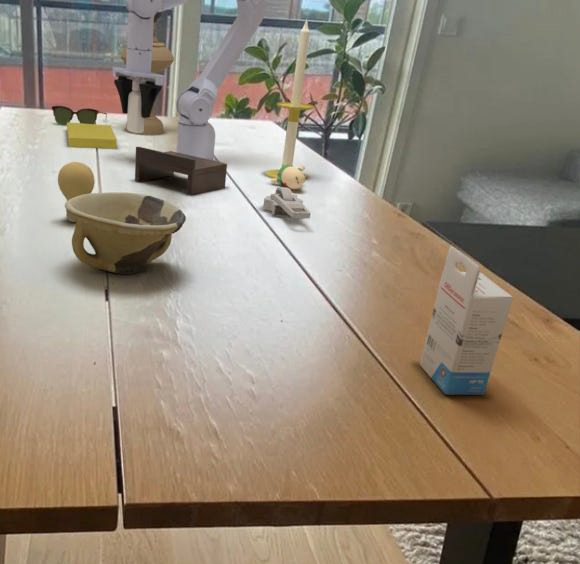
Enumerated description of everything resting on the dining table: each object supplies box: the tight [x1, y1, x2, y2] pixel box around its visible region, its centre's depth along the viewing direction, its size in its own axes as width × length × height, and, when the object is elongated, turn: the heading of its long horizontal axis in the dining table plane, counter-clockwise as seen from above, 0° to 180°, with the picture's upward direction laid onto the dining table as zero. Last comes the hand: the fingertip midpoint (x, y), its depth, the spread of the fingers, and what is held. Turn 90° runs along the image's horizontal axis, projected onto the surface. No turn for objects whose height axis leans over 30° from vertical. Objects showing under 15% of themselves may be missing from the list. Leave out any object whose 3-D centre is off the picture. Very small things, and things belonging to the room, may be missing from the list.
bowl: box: [64, 191, 187, 275], centre depth 115 cm, size 18×18×10 cm
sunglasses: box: [51, 105, 108, 126], centre depth 229 cm, size 14×15×5 cm
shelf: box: [134, 146, 228, 196], centre depth 167 cm, size 12×16×7 cm
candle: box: [264, 19, 315, 180], centre depth 175 cm, size 10×10×32 cm
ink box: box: [419, 245, 514, 396], centre depth 87 cm, size 9×5×15 cm, turn 5°
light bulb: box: [57, 161, 96, 223], centre depth 136 cm, size 6×6×10 cm
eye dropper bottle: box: [126, 76, 144, 133], centre depth 179 cm, size 4×6×12 cm
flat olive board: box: [66, 121, 117, 150], centre depth 207 cm, size 12×2×24 cm
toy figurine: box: [270, 164, 306, 191], centre depth 172 cm, size 8×4×12 cm
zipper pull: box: [262, 186, 312, 219], centre depth 149 cm, size 8×18×4 cm, turn 7°
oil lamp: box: [119, 11, 175, 136], centre depth 213 cm, size 15×15×40 cm
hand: (135, 115), depth 180 cm, fingers closed on eye dropper bottle, 5 cm apart
